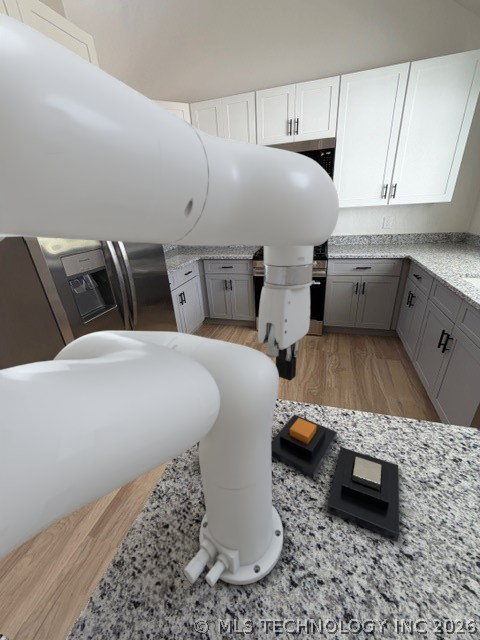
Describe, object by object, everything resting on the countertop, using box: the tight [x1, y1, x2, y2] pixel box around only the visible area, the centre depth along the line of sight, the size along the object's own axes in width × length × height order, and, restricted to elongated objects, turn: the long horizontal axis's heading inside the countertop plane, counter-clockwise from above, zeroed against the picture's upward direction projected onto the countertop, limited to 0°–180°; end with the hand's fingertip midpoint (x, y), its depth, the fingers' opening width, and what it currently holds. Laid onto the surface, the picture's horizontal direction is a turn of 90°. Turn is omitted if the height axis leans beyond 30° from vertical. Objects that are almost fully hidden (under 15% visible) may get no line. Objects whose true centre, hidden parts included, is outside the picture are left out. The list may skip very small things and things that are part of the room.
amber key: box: [290, 418, 317, 444], centre depth 56 cm, size 4×4×2 cm
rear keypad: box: [271, 413, 338, 480], centre depth 56 cm, size 12×10×4 cm
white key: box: [352, 457, 381, 492], centre depth 46 cm, size 4×4×2 cm
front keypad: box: [326, 446, 400, 543], centre depth 47 cm, size 13×10×4 cm
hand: (285, 376), depth 49 cm, fingers closed
